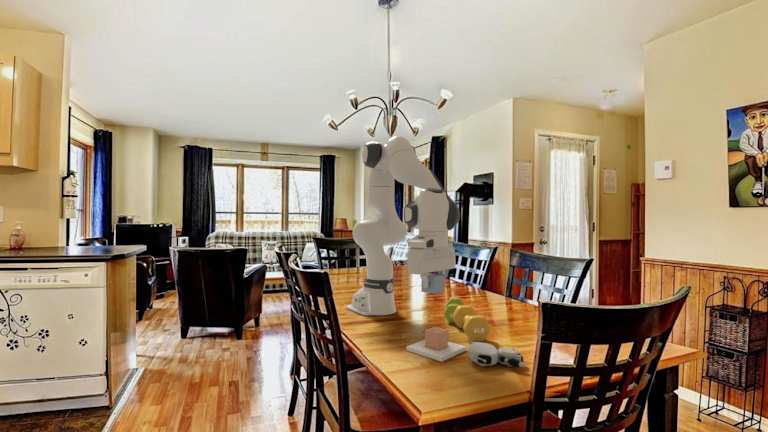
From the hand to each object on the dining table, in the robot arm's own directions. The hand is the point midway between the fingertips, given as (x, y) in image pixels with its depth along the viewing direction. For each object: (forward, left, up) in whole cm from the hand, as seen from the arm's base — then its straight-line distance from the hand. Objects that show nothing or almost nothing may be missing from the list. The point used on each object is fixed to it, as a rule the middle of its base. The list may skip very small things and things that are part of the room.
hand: (433, 286), depth 120 cm
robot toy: (+19, +4, -20) cm, 28 cm away
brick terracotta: (+1, +1, -18) cm, 18 cm away
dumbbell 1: (-15, +36, -20) cm, 44 cm away
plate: (+1, +1, -20) cm, 20 cm away
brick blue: (0, 0, -2) cm, 2 cm away
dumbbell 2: (-1, +23, -20) cm, 31 cm away
